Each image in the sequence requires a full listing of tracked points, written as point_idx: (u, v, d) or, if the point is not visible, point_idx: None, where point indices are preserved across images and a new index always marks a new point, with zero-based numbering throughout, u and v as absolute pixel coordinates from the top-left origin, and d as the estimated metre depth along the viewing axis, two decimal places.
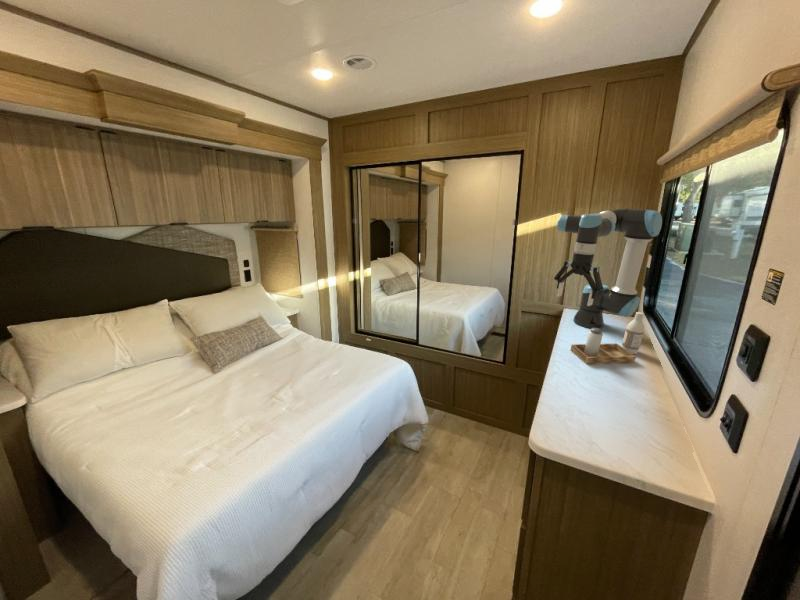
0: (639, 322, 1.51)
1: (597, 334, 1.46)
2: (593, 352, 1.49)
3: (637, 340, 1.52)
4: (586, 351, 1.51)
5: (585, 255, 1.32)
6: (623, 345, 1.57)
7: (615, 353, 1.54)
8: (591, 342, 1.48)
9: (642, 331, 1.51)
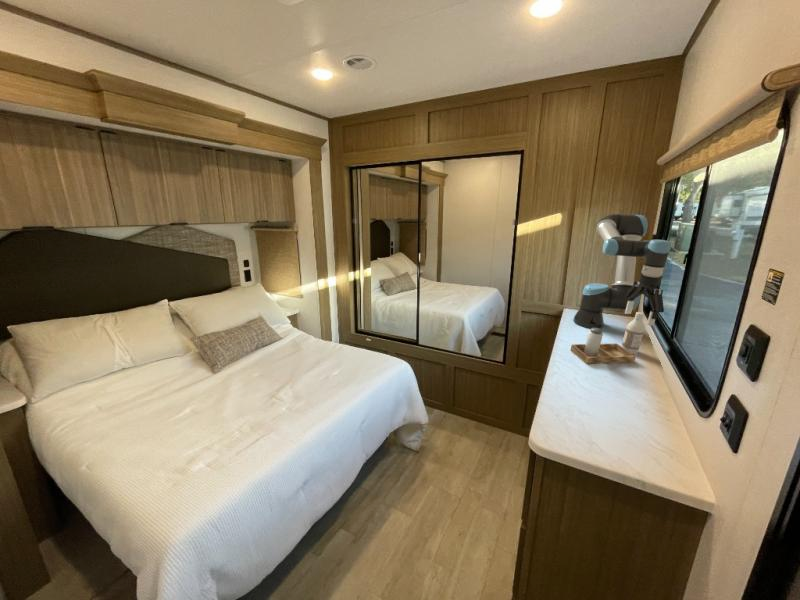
0: (639, 322, 1.51)
1: (597, 334, 1.46)
2: (593, 352, 1.49)
3: (637, 340, 1.52)
4: (586, 351, 1.51)
5: (648, 277, 1.43)
6: (623, 345, 1.57)
7: (615, 353, 1.54)
8: (591, 342, 1.48)
9: (642, 331, 1.51)
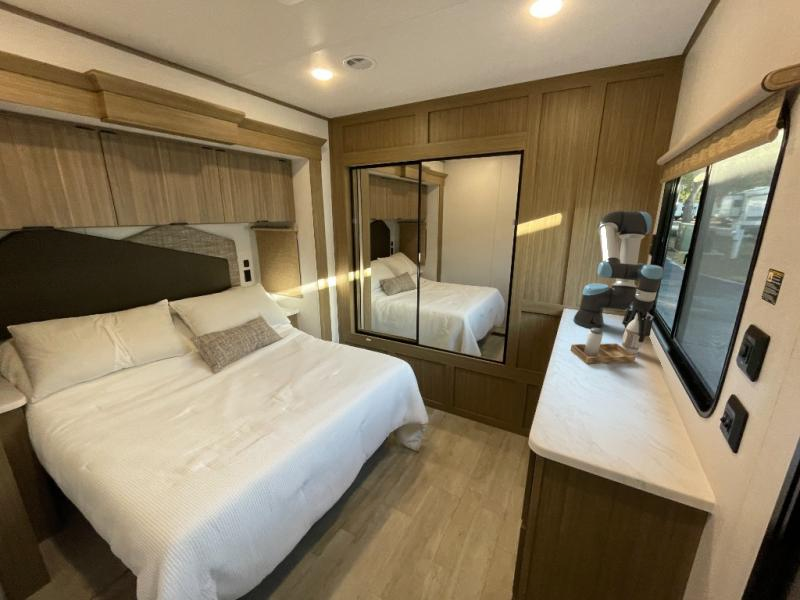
0: None
1: (597, 334, 1.46)
2: (593, 352, 1.49)
3: None
4: (586, 351, 1.51)
5: (641, 301, 1.47)
6: (623, 345, 1.57)
7: (615, 353, 1.54)
8: (591, 342, 1.48)
9: None
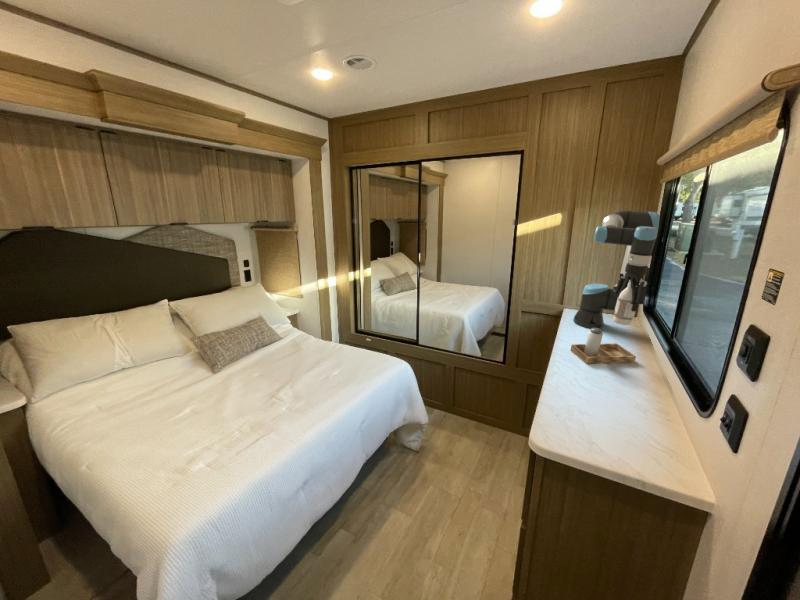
0: None
1: (597, 334, 1.46)
2: (593, 352, 1.49)
3: None
4: (586, 351, 1.51)
5: (634, 266, 1.36)
6: (615, 316, 1.46)
7: (615, 353, 1.54)
8: (591, 342, 1.48)
9: None
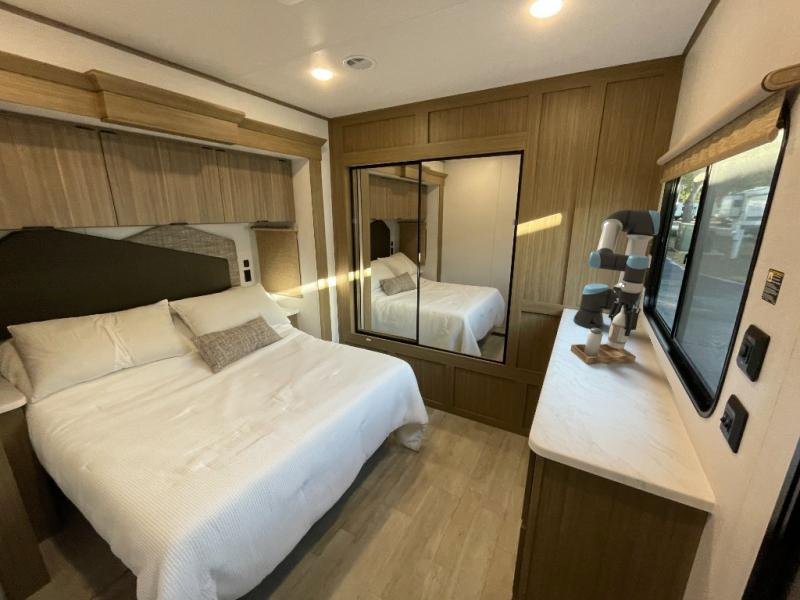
0: None
1: (597, 334, 1.46)
2: (593, 352, 1.49)
3: None
4: (586, 351, 1.51)
5: (627, 293, 1.40)
6: (609, 339, 1.50)
7: (615, 353, 1.54)
8: (591, 342, 1.48)
9: None
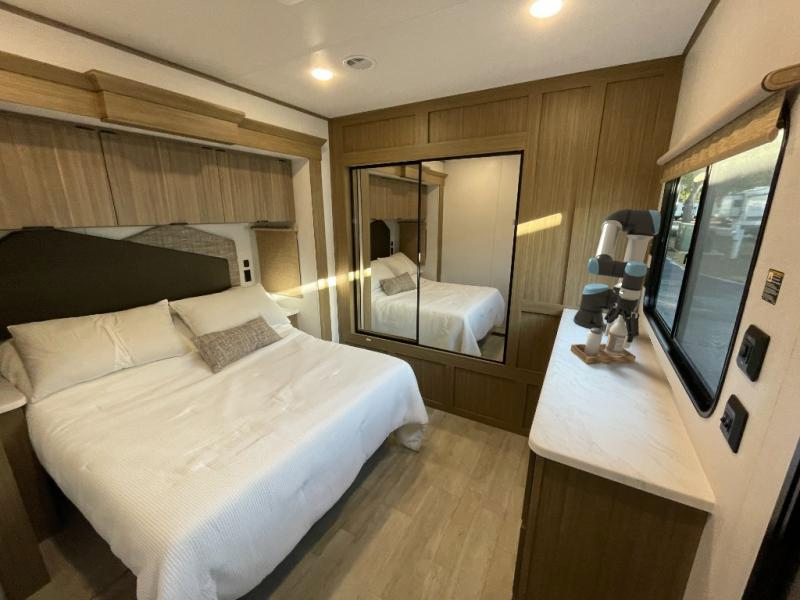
0: (622, 324, 1.46)
1: (597, 334, 1.46)
2: (593, 352, 1.49)
3: (620, 343, 1.47)
4: (586, 351, 1.51)
5: (625, 300, 1.41)
6: (606, 348, 1.52)
7: None
8: (591, 342, 1.48)
9: (625, 334, 1.46)
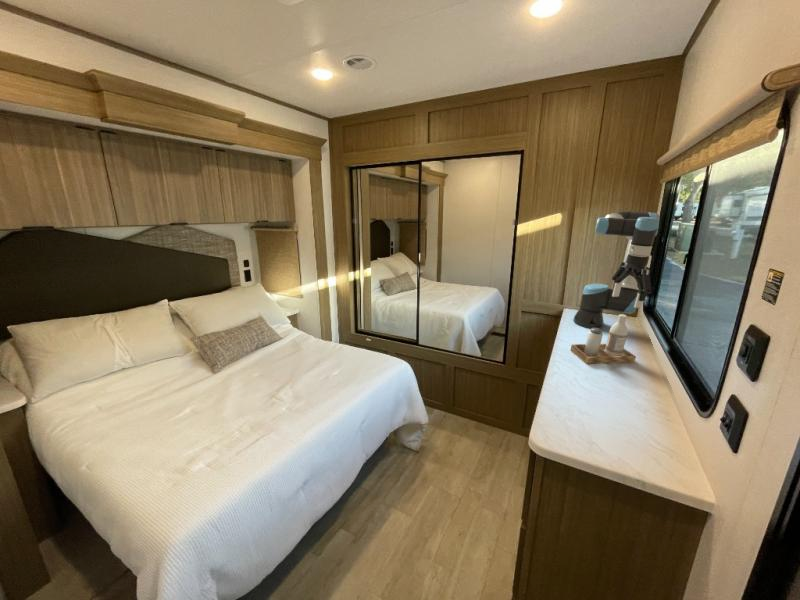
0: (622, 324, 1.46)
1: (597, 334, 1.46)
2: (593, 352, 1.49)
3: (621, 343, 1.47)
4: (586, 351, 1.51)
5: (635, 257, 1.35)
6: (606, 348, 1.52)
7: None
8: (591, 342, 1.48)
9: (625, 334, 1.46)
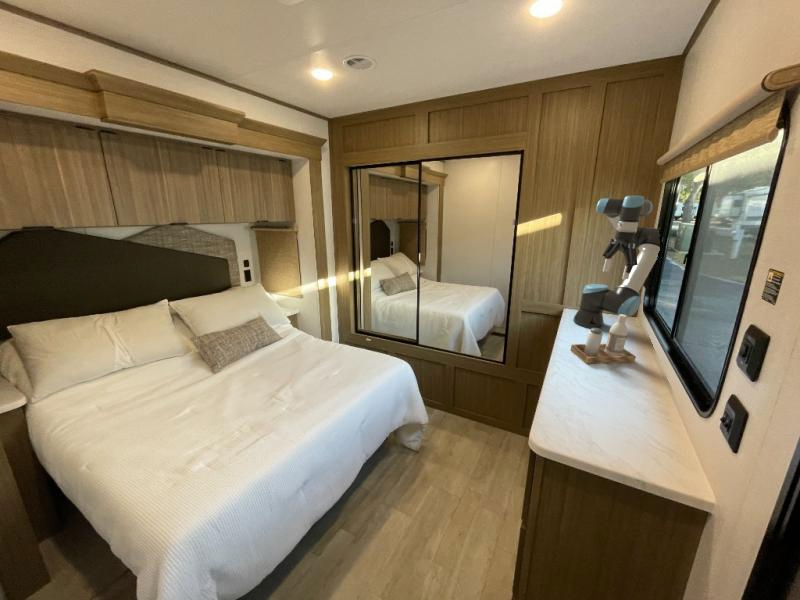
0: (622, 324, 1.46)
1: (597, 334, 1.46)
2: (593, 352, 1.49)
3: (621, 343, 1.47)
4: (586, 351, 1.51)
5: (623, 232, 1.48)
6: (606, 348, 1.52)
7: None
8: (591, 342, 1.48)
9: (625, 334, 1.46)
